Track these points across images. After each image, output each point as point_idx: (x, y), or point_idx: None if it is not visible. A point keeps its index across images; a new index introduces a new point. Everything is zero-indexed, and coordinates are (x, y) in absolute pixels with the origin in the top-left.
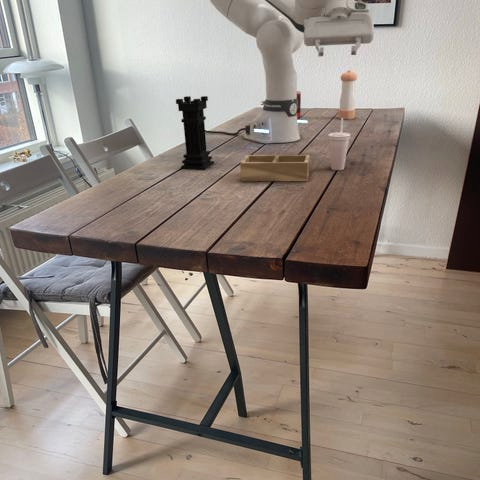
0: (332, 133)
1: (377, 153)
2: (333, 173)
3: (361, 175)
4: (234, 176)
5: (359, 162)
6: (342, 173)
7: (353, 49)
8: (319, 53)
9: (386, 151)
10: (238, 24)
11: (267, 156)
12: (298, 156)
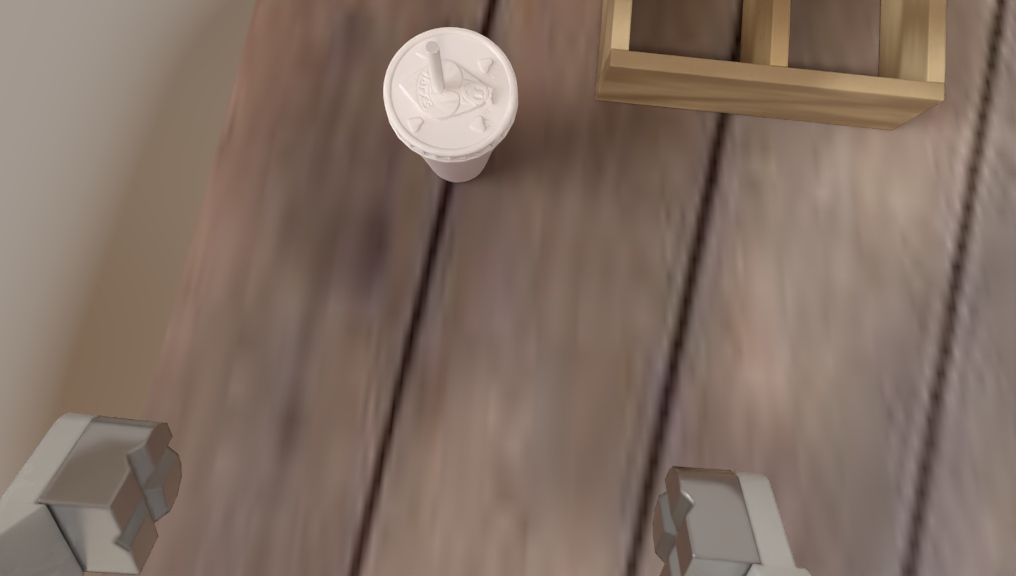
0: (488, 135)
1: (204, 467)
2: None
3: (360, 23)
4: None
5: (334, 267)
6: None
7: (109, 435)
8: (737, 473)
9: None
10: None
11: (828, 72)
12: (667, 57)
